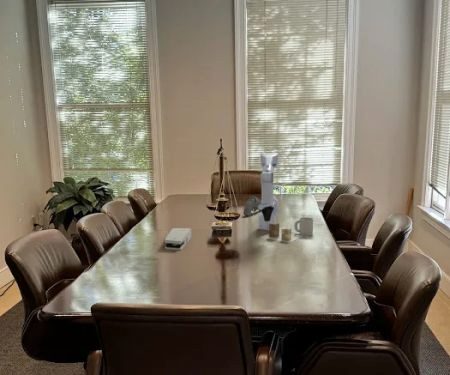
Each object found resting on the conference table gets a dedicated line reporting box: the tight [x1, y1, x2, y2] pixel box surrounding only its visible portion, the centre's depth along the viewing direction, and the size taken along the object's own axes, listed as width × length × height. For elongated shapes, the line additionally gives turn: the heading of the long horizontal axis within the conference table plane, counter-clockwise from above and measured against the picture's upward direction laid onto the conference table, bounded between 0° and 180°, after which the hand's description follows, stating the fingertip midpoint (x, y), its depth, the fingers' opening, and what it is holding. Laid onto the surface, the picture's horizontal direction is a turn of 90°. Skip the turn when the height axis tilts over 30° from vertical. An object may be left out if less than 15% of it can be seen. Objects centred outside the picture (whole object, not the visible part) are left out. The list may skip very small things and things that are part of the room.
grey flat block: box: [164, 227, 192, 251], centre depth 221 cm, size 26×11×5 cm, turn 174°
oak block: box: [281, 226, 292, 241], centre depth 222 cm, size 4×4×6 cm
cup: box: [293, 216, 314, 237], centre depth 234 cm, size 7×10×9 cm
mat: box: [259, 231, 304, 243], centre depth 229 cm, size 18×16×1 cm
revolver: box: [243, 195, 262, 217], centre depth 292 cm, size 5×22×15 cm, turn 148°
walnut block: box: [268, 222, 280, 238], centre depth 228 cm, size 4×4×8 cm
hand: (267, 221), depth 221 cm, fingers closed
